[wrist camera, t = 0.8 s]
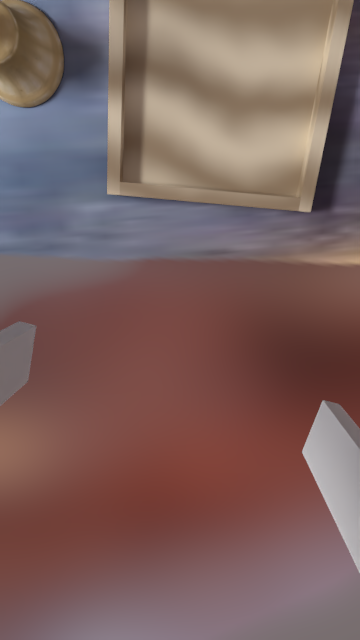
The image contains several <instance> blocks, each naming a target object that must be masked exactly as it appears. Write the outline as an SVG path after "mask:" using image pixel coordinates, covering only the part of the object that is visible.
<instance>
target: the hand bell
mask: <svg viewBox="0 0 360 640" xmlns="http://www.w3.org/2000/svg"><path fill="white" fill-rule="evenodd" d="M63 69H64V55H63V48H62V44H61V41H60V38H59V35H58V33H57V31H56V29H55V28H54V26H53V24H52V23H51V21H50V20H49V19H48V18H47V17H46V16H45V14H44V13H43V12H41V11H40V10H39V9H38V8H36V7H35V6H33V5H31V4H29V3H27V2H24V1H21V0H0V99H1V100H3V101H5V102H7V103H9V104H11V105H14V106H18V107H33V106H36V105H40V104H42V103H43V102H45V101H46V100H48V99H49V98H50V97H51V96H52V95H53V94H54V92H55V91H56V89H57V88H58V86H59V84H60V81H61V78H62V75H63Z"/></svg>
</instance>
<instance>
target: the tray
mask: <svg viewBox="0 0 360 640" xmlns="http://www.w3.org/2000/svg"><path fill="white" fill-rule="evenodd" d="M353 2H354V0H109V85H108V170H107V194H113V195H124V196H135V197H147V198H158V199H169V200H180V201H191V202H202V203H213V204H225V205H236V206H247V207H258V208H269V209H280V210H291V211H302V212H311V208H312V203H313V198H314V193H315V188H316V183H317V178H318V174H319V169H320V164H321V159H322V154H323V149H324V144H325V139H326V134H327V130H328V125H329V120H330V115H331V110H332V105H333V100H334V95H335V90H336V85H337V81H338V76H339V71H340V66H341V61H342V56H343V51H344V46H345V41H346V37H347V32H348V27H349V22H350V17H351V12H352V7H353Z"/></svg>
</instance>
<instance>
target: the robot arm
mask: <svg viewBox="0 0 360 640" xmlns="http://www.w3.org/2000/svg"><path fill="white" fill-rule="evenodd" d="M35 331H36V326H35V325H31V324H27V323H23V322H17V323H15V324H13V325H11V326H9V327H7V328H5V329H3V330H1V331H0V405H2V404H3V403H4V402H5V401H6V400H7V399H8V398H9V397H11V396H12V395H13V394H14V393H15V392H16V391H17V390H19V389H20V388H21V387H22V386H23V385H24V384H26V383H27V382H28V376H29V370H30V364H31V357H32V351H33V344H34V338H35ZM302 453H303V455H304V457H305V459H306V461H307V463H308V465H309V467H310V470H311V472H312V474H313V476H314V478H315V480H316V482H317V484H318V486H319V488H320V491H321V493H322V495H323V497H324V499H325V501H326V503H327V505H328V508H329V510H330V512H331V514H332V516H333V518H334V520H335V522H336V524H337V526H338V528H339V531H340V533H341V535H342V537H343V539H344V541H345V543H346V545H347V547H348V549H349V552H350V554H351V556H352V558H353V560H354V562H355V564H356V566H357V568H358V571H359V573H360V429H359V427H358V426H357V425H356V424H355V423H354V421H353V420H352V419H351V418H350V417H349V415H348V414H347V413H346V412H345V411H344V409H343V408H342V407H341V406H340V404H336V403H332V402H329V401H324V400H323V401H322V404H321V406H320V409H319V411H318V414H317V416H316V418H315V421H314V424H313V426H312V428H311V431H310V433H309V436H308V438H307V441H306V443H305V446H304V448H303V451H302Z"/></svg>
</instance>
